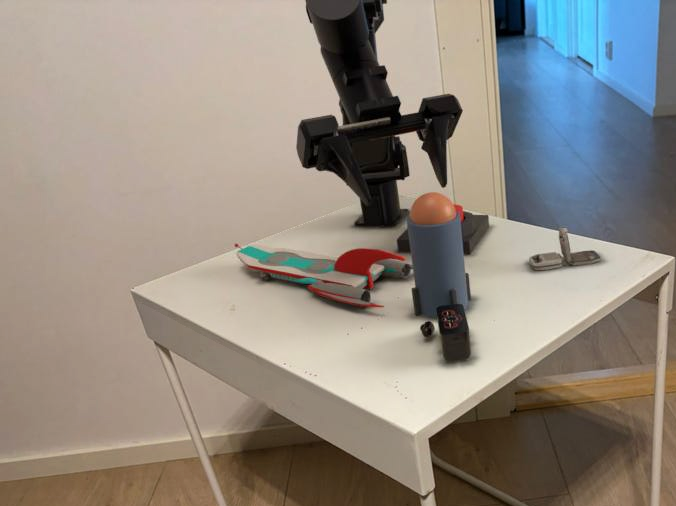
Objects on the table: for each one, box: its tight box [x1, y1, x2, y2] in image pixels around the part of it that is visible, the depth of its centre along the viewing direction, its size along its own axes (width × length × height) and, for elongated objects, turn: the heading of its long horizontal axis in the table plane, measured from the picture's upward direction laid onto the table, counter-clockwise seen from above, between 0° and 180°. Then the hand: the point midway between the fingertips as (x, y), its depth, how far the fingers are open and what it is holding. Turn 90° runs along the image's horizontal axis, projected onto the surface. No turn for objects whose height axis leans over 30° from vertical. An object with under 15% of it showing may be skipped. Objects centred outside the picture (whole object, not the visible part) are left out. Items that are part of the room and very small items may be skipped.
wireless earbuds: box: [419, 304, 472, 363], centre depth 71 cm, size 5×7×3 cm, turn 7°
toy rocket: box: [406, 191, 472, 319], centre depth 76 cm, size 7×7×13 cm
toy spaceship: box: [234, 243, 413, 309], centre depth 88 cm, size 27×11×5 cm, turn 64°
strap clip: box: [528, 227, 601, 271], centre depth 87 cm, size 8×3×4 cm, turn 100°
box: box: [396, 210, 490, 255], centre depth 97 cm, size 10×10×4 cm
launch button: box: [453, 203, 464, 222], centre depth 94 cm, size 4×4×2 cm
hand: (407, 194), depth 79 cm, fingers open, 9 cm apart
